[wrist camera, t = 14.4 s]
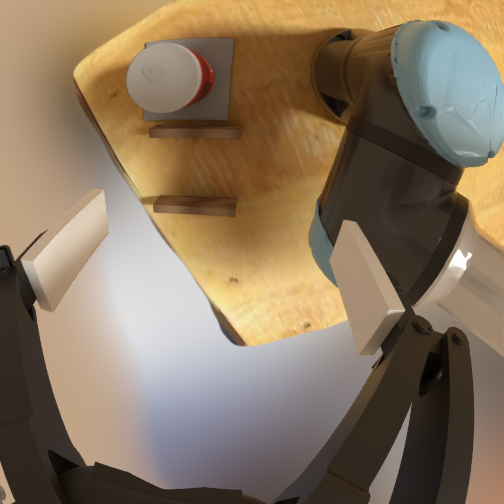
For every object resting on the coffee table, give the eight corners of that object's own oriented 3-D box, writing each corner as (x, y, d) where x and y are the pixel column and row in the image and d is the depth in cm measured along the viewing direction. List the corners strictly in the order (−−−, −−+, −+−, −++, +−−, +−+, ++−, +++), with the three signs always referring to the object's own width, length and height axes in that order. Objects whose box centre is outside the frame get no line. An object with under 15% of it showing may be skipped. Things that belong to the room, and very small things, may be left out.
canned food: (167, 48, 28) (136, 37, 19) (223, 60, 29) (212, 50, 20) (151, 98, 32) (117, 106, 23) (205, 111, 33) (187, 121, 24)
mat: (234, 38, 28) (234, 38, 27) (227, 120, 34) (227, 120, 34) (147, 42, 27) (146, 42, 27) (144, 120, 34) (143, 120, 34)
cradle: (241, 126, 35) (240, 130, 32) (235, 206, 42) (234, 216, 39) (157, 125, 34) (149, 129, 32) (160, 202, 41) (153, 212, 39)
